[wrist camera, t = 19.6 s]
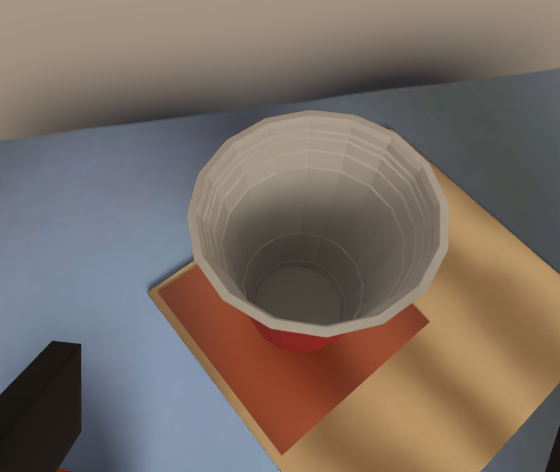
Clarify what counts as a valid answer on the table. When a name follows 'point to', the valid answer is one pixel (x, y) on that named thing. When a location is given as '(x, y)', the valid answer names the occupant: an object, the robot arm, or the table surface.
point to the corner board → (393, 361)
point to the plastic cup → (318, 226)
